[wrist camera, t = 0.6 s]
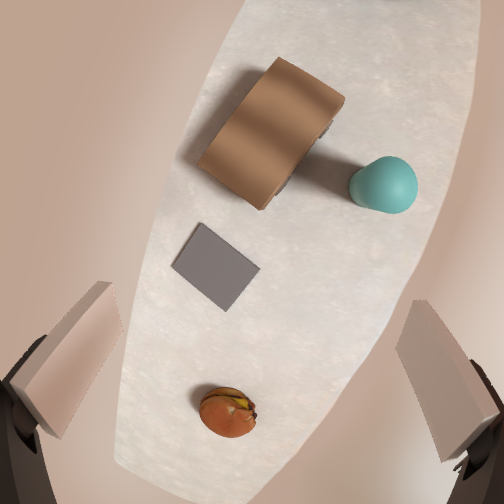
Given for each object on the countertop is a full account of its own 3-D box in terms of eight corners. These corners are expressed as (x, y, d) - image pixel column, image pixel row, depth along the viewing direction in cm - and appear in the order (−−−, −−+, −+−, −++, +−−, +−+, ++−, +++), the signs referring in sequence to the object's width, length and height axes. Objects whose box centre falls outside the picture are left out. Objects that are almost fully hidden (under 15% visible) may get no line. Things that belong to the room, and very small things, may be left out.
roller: (363, 161, 33) (385, 144, 22) (393, 186, 33) (427, 182, 21) (341, 191, 35) (353, 188, 23) (371, 216, 34) (396, 225, 23)
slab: (284, 75, 33) (278, 56, 27) (341, 112, 33) (345, 97, 27) (214, 168, 37) (196, 164, 32) (268, 208, 37) (259, 210, 31)
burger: (205, 418, 47) (196, 434, 42) (203, 381, 45) (193, 397, 40) (257, 429, 45) (252, 446, 40) (261, 392, 43) (255, 410, 38)
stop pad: (202, 223, 39) (201, 223, 39) (260, 268, 39) (259, 269, 38) (174, 266, 41) (172, 267, 41) (227, 310, 41) (225, 312, 40)
